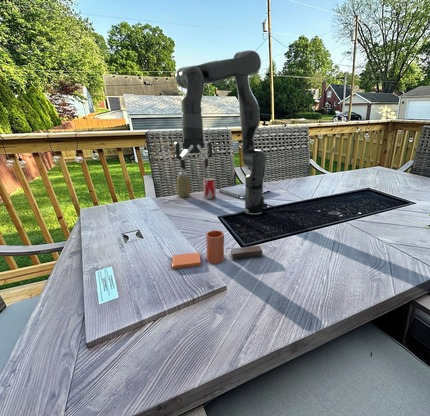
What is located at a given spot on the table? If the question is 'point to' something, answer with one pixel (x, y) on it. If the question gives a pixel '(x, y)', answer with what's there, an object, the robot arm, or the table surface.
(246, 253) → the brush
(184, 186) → the squeeze bottle
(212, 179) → the soda can
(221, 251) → the pot
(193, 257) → the orange rectangular slab
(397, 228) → the table surface
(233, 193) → the notebook
